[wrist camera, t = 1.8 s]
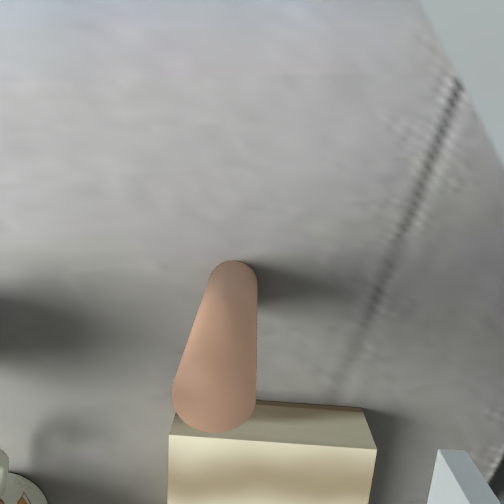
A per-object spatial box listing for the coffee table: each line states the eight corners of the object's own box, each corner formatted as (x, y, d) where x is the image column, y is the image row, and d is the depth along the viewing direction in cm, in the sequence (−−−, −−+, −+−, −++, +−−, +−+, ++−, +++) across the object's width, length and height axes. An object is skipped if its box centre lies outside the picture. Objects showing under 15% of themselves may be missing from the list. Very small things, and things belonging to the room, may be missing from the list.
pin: (210, 259, 27) (172, 354, 15) (259, 262, 27) (259, 361, 15) (207, 305, 27) (170, 430, 16) (255, 308, 27) (253, 435, 16)
